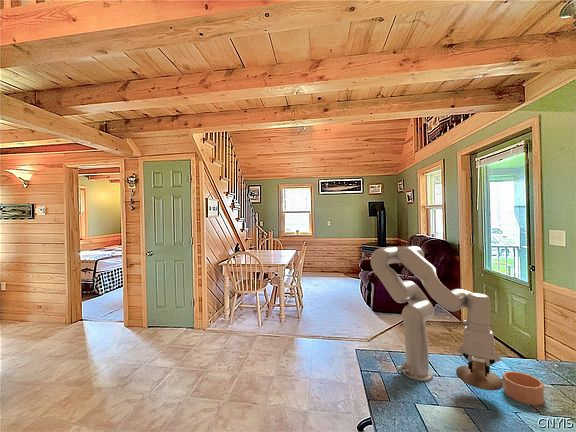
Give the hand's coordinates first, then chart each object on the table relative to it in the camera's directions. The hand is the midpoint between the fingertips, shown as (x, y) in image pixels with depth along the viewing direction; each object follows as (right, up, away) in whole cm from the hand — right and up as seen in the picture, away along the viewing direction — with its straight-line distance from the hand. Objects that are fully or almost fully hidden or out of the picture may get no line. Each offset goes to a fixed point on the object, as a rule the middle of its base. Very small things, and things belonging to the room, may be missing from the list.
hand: (478, 372), depth 109 cm
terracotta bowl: (+18, -9, +1) cm, 20 cm away
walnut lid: (0, -2, 0) cm, 2 cm away
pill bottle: (+16, -10, +21) cm, 28 cm away
